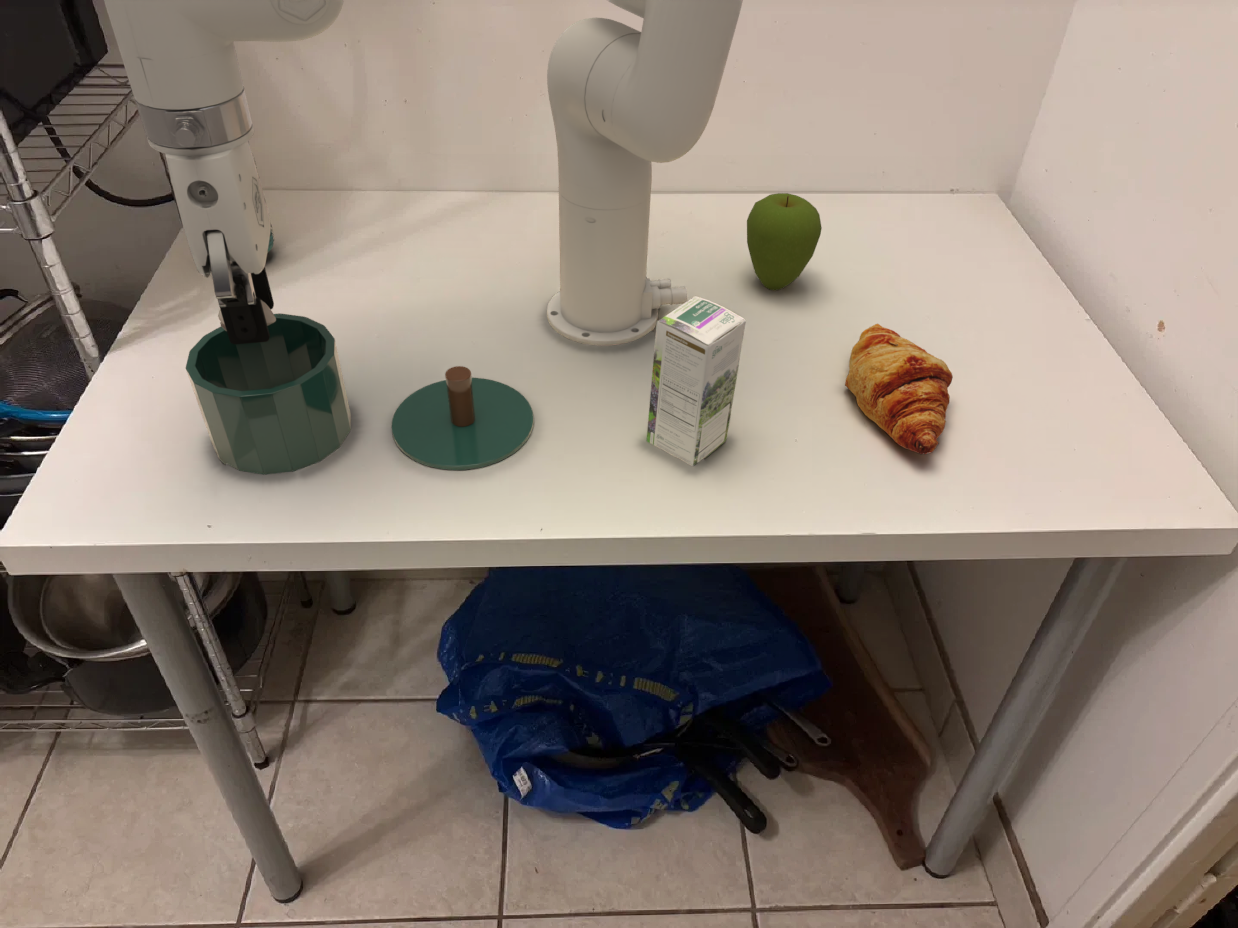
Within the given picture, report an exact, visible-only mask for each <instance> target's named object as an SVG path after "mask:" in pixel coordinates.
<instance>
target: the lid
mask: <svg viewBox="0 0 1238 928" xmlns="http://www.w3.org/2000/svg"><path fill="white" fill-rule="evenodd" d="M444 377H445V379H444V380H439V381H436V382H433V383H430V384H428V385H425V386H423V387H421V388H419V389H417V390H416V391H413V392H412V393H411V394H409V395H408V396H407V397H406V398H405V399H404V400H403V401H402V402H400V404H399V405H398V407H397V408H396V410H395V411H394V414H393V417H392V420H391V433H392V437H393V440H394V443H395V444H396V446H397V448H399V450H400V451H401V452H402V453H403V454H404V455H405V456H407V457H408V458H409V459H411V460H413V461H414V462H416V463H419V464H421V465H424V466H427V467H429V468H433V469H439V470H448V471H464V470H465V471H467V470H475V469H479V468H484V467H488V466H491V465H494V464H497V463H499V462H502V461H503V460H506V459H507V458H508V457H511V456H512V455H514V454H515V453H517V452H518V451H519V450H520V449H521V448H522V447H523V446H524V445H525V444H526V442H527V441H528V440H529V438H530V436H531V434H532V433H533V432H532V431H533V428H534V419H535V418H534V412H533V409H532V406H531V404H530V402H529V401H528V399H527V398H526V397H525V396H524V395H523V394H522V393H521V392H520V391H518V390H516V389H515V388H514V387H512V386H509V385H508V384H505V383H503V382H500V381H497V380H494V379H489V378H484V377H483V378H482V377H472V371H471V370H470V368H468V367H466V366H463V365H456V366H452V367H450V368H448V369H447V370H446V371H445V373H444Z"/></svg>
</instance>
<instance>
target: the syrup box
mask: <svg viewBox="0 0 1238 928" xmlns="http://www.w3.org/2000/svg"><path fill="white" fill-rule="evenodd" d="M746 323H747V320H746V319H745V318H743V316H740V315H739V314H737V313H735V312H733V311H732V310H730V309H728V308H726V307H724V306H722V305H720V304H718V303H716V302H714V301H711V300H709V299H706V298H703V297H700V296H696V295H694V296H693V297H691V298H690V299H689V300H688V299H687V302H685V303H684V304H680V305H679V306H678V307H676V308H675V309H673V310H672V311H670V312H669V313H667V314H666V315H665V316H663V317H661V318H660V319H657V324H656V326H655V335H654V336H655V337H654V338H655V339H654V349H653V361H652V372H651V383H650V395H649V407H648V408H649V409H648V419H647V430H646V431H647V432H646V440H645V441H646V442H647V443H649V444H651V445H652V446H654V447H656V448H658V449H660V450H662V451H663V452H665V453H667V454H669V455H671V456H672V457H674V458H677V459H678V460H680V461H682V462H684V463H686V464H687V465H690V466H691V467H694V466H696V465H697V464H698V463H700V462H701V461H702V460H706V458H708V457H709V456H710V455H711V454H712V453H714V452H715V451H716V450H718V448H719V447H721V446H722V445H723V444H724V443H725V442H726V441H727V439H728V434H729V428H730V421H731V416H732V409H733V402H734V397H735V390H736V384H737V378H738V374H739V373H738V371H739V366H740V361H741V353H742V347H743V340H744V334H745V329H746Z"/></svg>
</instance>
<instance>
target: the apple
mask: <svg viewBox="0 0 1238 928" xmlns="http://www.w3.org/2000/svg"><path fill="white" fill-rule="evenodd" d="M822 228H823V227H822V222H821V216H820V213H819V211H818V209H817V208H816V207H815V205H813V204H812V203H811V202H810V201H808V200H807V199H805V198H804V197H801V196H799V195H796V194H792V193H788V192H787V193H786V192H784V193H783V192H781V193H780V192H778V193H771V194H769V195H767V196H765V197H764V198H761V199H759V200H757V201H756V202H754V205H753V206H752V208H751V210H750V212H749V214H748V216H747V219H746V244H747V249H748V253H749V256H750V260H751V264H752V268H753V271H754V273H755V275H756V277H757V278H758V279H759V281H760V283H761V284H762V285H763V286H764V288H766V289H768V290H769V291H780V290H783V289H784V288H786V287H787V286H788V285H790V284H792V283H793V282H795V280H797V279H798V278H799V277H800V276H801V274H802V273H803V271H804V269H805V268H806V267H807V265H808V264H809V262H810V261H811V260H812V258H813V256H814V254H815V251H816V248H817V246H818V243H819V239H820V237H821V233H822V230H823V229H822Z"/></svg>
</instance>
